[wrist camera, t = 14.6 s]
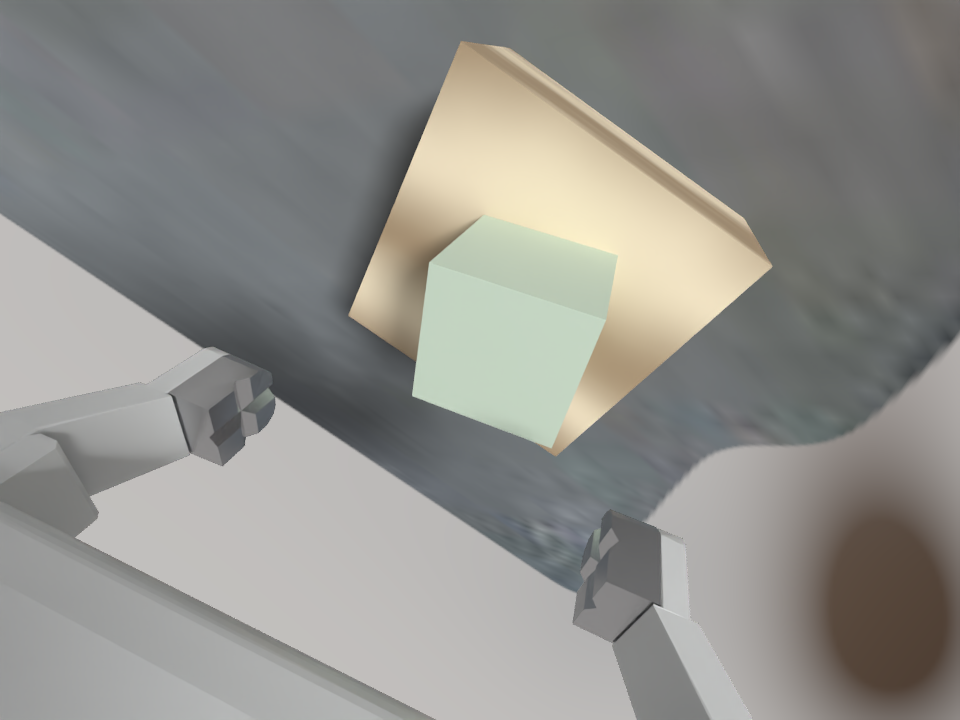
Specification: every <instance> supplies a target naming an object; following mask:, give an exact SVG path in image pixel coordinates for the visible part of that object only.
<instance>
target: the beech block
mask: <svg viewBox="0 0 960 720" xmlns="http://www.w3.org/2000/svg"><path fill="white" fill-rule="evenodd" d="M483 215H487V216H490V217H493V218H497V219H500V220H503V221H507V222H510V223H513V224H517V225H520V226H523V227H526V228H530V229H533V230H536V231H540V232H543V233H546V234H550V235H553V236H556V237H559V238H563V239H566V240H569V241H573V242H576V243H579V244H582V245H586V246H589V247H592V248H596V249H599V250H602V251H605V252H609V253H612V254H615V255H618V258H617V263H616V269H615V274H614V280H613V285H612V291H611V296H610V301H609V307H608V312H607V318H606V321H605V324H604V326H603V329H602V331H601V333H600V336H599V338H598V340H597V343H596V345H595V347H594V350H593V352H592V354H591V357H590V359H589V362H588V364H587V366H586V369H585V371H584V373H583V376H582V378H581V380H580V383H579V385H578V387H577V390H576V392H575V395H574V397H573V399H572V402H571V404H570V406H569V409H568V411H567V413H566V416H565V418H564V420H563V423H562V425H561V427H560V430H559V432H558V435H557V437H556V439H555V442H554V444H553V446H552V449H551V448H549V447H546V446H543V445H541V444H538V443H536V442H535V443H536V444H538V445H539V446H541V447H542V448H544V449H545V450H547V451H548V452H550V453H551V454H553V455H554V456H557V455H558V454H559V453H560V452H561V451H562V450H563V449H565V448H566V447H567V446H568V445H569V444H570V443H571V442H573V441H574V440H575V439H576V438H577V437H578V436H579V435H581V434H582V433H583V432H584V431H585V430H586V429H587V428H589V427H590V426H591V425H592V424H593V423H594V422H595V421H597V420H598V419H599V418H600V417H601V416H602V415H603V414H605V413H606V412H607V411H608V410H609V409H610V408H611V407H613V406H614V405H615V404H616V403H617V402H618V401H619V400H621V399H622V398H623V397H624V396H625V395H626V394H627V393H629V392H630V391H631V390H632V389H633V388H634V387H635V386H637V385H638V384H639V383H640V382H641V381H642V380H643V379H645V378H646V377H647V376H648V375H649V374H650V373H651V372H653V371H654V370H655V369H656V368H657V367H658V366H659V365H661V364H662V363H663V362H664V361H665V360H666V359H667V358H669V357H670V356H671V355H672V354H673V353H674V352H675V351H677V350H678V349H679V348H680V347H681V346H682V345H683V344H685V343H686V342H687V341H688V340H689V339H690V338H691V337H693V336H694V335H695V334H696V333H697V332H698V331H699V330H701V329H702V328H703V327H704V326H705V325H706V324H707V323H709V322H710V321H711V320H712V319H713V318H714V317H715V316H717V315H718V314H719V313H720V312H721V311H722V310H723V309H725V308H726V307H727V306H728V305H729V304H730V303H731V302H733V301H734V300H735V299H736V298H737V297H738V296H739V295H741V294H742V293H743V292H744V291H745V290H746V289H747V288H749V287H750V286H751V285H752V284H753V283H754V282H755V281H757V280H758V279H759V278H760V277H761V276H762V275H763V274H765V273H766V272H767V271H768V270H769V269H770V268H771V267H773V266H772V265H771V263H770V261H769V260H768V258H767V256H766V255H765V253H764V251H763V250H762V248H761V246H760V245H759V243H758V241H757V239H756V238H755V236H754V234H753V233H752V231H751V229H750V228H749V226H748V224H747V223H746V221H745V219H744V218H743V217H741V216H740V215H739V214H737V213H736V212H734V211H733V210H732V209H730V208H729V207H728V206H726V205H725V204H723V203H722V202H721V201H719V200H718V199H717V198H715V197H714V196H712V195H711V194H710V193H708V192H707V191H706V190H704V189H703V188H701V187H700V186H699V185H697V184H696V183H695V182H693V181H692V180H690V179H689V178H688V177H686V176H685V175H684V174H682V173H681V172H679V171H678V170H677V169H675V168H674V167H673V166H671V165H670V164H668V163H667V162H666V161H664V160H663V159H662V158H660V157H659V156H657V155H656V154H655V153H653V152H652V151H651V150H649V149H648V148H646V147H645V146H644V145H642V144H641V143H639V142H638V141H637V140H635V139H634V138H633V137H631V136H630V135H628V134H627V133H626V132H624V131H623V130H622V129H620V128H619V127H617V126H616V125H615V124H613V123H612V122H611V121H609V120H608V119H606V118H605V117H604V116H602V115H601V114H600V113H598V112H597V111H595V110H594V109H593V108H591V107H590V106H589V105H587V104H586V103H584V102H583V101H582V100H580V99H579V98H578V97H576V96H575V95H573V94H572V93H571V92H569V91H568V90H567V89H565V88H564V87H562V86H561V85H560V84H558V83H557V82H556V81H554V80H553V79H551V78H550V77H549V76H547V75H546V74H545V73H543V72H542V71H540V70H539V69H538V68H536V67H535V66H534V65H532V64H531V63H529V62H528V61H527V60H525V59H524V58H523V57H521V56H520V55H518V54H517V53H516V52H514V51H513V50H512V49H510V48H505V47H498V46H491V45H484V44H477V43H470V42H464V41H461V42H460V45H459V47H458V50H457V52H456V55H455V57H454V59H453V62H452V64H451V67H450V69H449V72H448V74H447V76H446V79H445V81H444V84H443V86H442V89H441V91H440V94H439V96H438V98H437V101H436V103H435V106H434V108H433V111H432V113H431V115H430V118H429V120H428V123H427V125H426V128H425V130H424V132H423V135H422V137H421V140H420V142H419V145H418V147H417V149H416V152H415V154H414V157H413V159H412V162H411V164H410V167H409V169H408V171H407V174H406V176H405V179H404V181H403V184H402V186H401V188H400V191H399V193H398V196H397V198H396V201H395V203H394V205H393V208H392V210H391V213H390V215H389V218H388V220H387V222H386V225H385V227H384V230H383V232H382V235H381V237H380V240H379V242H378V244H377V247H376V249H375V252H374V254H373V257H372V259H371V261H370V264H369V266H368V269H367V271H366V274H365V276H364V278H363V281H362V283H361V286H360V288H359V291H358V293H357V295H356V298H355V300H354V303H353V305H352V308H351V310H350V313H349V315H348V316H350V317H351V318H353V319H354V320H356V321H357V322H359V323H360V324H361V325H363V326H364V327H366V328H367V329H369V330H370V331H372V332H373V333H375V334H376V335H378V336H379V337H381V338H382V339H384V340H385V341H386V342H388V343H389V344H391V345H392V346H394V347H395V348H397V349H398V350H400V351H401V352H403V353H404V354H406V355H407V356H409V357H410V358H411V359H413V360H414V361H417V354H418V346H419V338H420V330H421V323H422V315H423V307H424V299H425V291H426V284H427V276H428V268H429V262H430V261H431V260H432V259H434V258H435V257H436V256H437V255H438V254H439V253H441V252H442V251H443V250H444V249H445V248H446V247H447V246H449V245H450V244H451V243H452V242H453V241H454V240H456V239H457V238H458V237H459V236H460V235H461V234H462V233H464V232H465V231H466V230H467V229H468V228H469V227H471V226H472V225H473V224H474V223H475V222H476V221H478V220H479V219H480V218H481V217H482V216H483Z"/></svg>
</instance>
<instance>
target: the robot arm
mask: <svg viewBox="0 0 960 720" xmlns="http://www.w3.org/2000/svg"><path fill="white" fill-rule="evenodd" d="M272 384H273V379H272V374H271V372H269V371H267V370H265V369H263V368H261V367H259V366H256V365H254V364H252V363H249V362H247V361H245V360H243V359H240V358H238V357H236V356H234V355H231V354H229V353H226V352H224V351H222V350H219V349H217V348H215V347H209V348H204V349H202V350H201V351H199V352H198V353H196V354H194V355H193V356H191V357H190V358H188V359H186V360H185V361H183V362H182V363H180V364H179V365H177V366H175V367H174V368H172V369H171V370H169V371H167V372H166V373H164V374H163V375H161V376H159V377H158V378H156V379H155V380H153V381H152V382H150V383H148V384H143V383H135V384H131V385H126V386H121V387H116V388H112V389H108V390H102V391H98V392H93V393H88V394H84V395H79V396H74V397H70V398H66V399H60V400H56V401H51V402H46V403H42V404H37V405H32V406H27V407H23V408H19V409H14V410H9V411H4V412H0V720H435V719H434V718H431V717H430V716H427V715H426V714H423V713H421V712H420V711H418V710H415V709H414V708H412V707H410V706H408V705H406V704H404V703H402V702H400V701H398V700H396V699H394V698H392V697H390V696H388V695H386V694H384V693H382V692H380V691H378V690H376V689H374V688H372V687H370V686H368V685H366V684H364V683H362V682H360V681H358V680H356V679H354V678H352V677H350V676H348V675H346V674H344V673H342V672H340V671H338V670H336V669H334V668H332V667H330V666H328V665H326V664H324V663H322V662H320V661H318V660H316V659H314V658H312V657H310V656H308V655H306V654H304V653H303V652H300V651H299V650H297V649H295V648H292V647H291V646H289V645H287V644H285V643H282V642H280V641H279V640H277V639H274V638H273V637H271V636H269V635H266V634H265V633H262V632H261V631H259V630H256V629H255V628H253V627H251V626H249V625H247V624H245V623H243V622H241V621H239V620H237V619H235V618H233V617H231V616H229V615H227V614H225V613H223V612H221V611H219V610H217V609H215V608H213V607H211V606H209V605H207V604H205V603H203V602H201V601H199V600H197V599H195V598H193V597H191V596H189V595H187V594H185V593H183V592H181V591H179V590H177V589H175V588H173V587H171V586H169V585H168V584H166V583H164V582H162V581H160V580H157V579H156V578H153V577H152V576H150V575H148V574H146V573H144V572H142V571H140V570H138V569H136V568H134V567H132V566H130V565H128V564H126V563H124V562H122V561H120V560H118V559H116V558H114V557H112V556H110V555H108V554H106V553H104V552H102V551H100V550H98V549H96V548H94V547H92V546H90V545H88V544H86V543H84V542H82V541H80V540H78V539H76V538H75V537H76V536H77V535H78V534H80V533H81V532H82V531H83V530H84V529H85V528H87V527H88V526H89V525H90V524H92V523H93V522H94V521H95V520H96V519H97V518H98V513H99V512H98V510H97V509H96V507H95V505H94V503H93V502H92V500H91V498H90V496H92V495H94V494H97V493H99V492H101V491H104V490H106V489H109V488H111V487H114V486H116V485H118V484H121V483H123V482H126V481H128V480H130V479H133V478H135V477H138V476H140V475H143V474H145V473H148V472H150V471H152V470H155V469H157V468H160V467H162V466H164V465H167V464H169V463H172V462H174V461H177V460H179V459H182V458H184V457H186V456H189V455H190V453H192V454H194V455H197V456H199V457H201V458H204V459H206V460H208V461H211V462H213V463H216V464H218V465H221V466H223V465H224V464H225V463H227V462H228V461H229V460H230V459H231V458H232V457H233V456H234V455H235V454H236V453H237V452H238V451H240V450H241V449H242V448H243V447H244V445H245V439H246V437H247V436H251V435H254V434H257V433H259V432H260V431H261V430H262V429H263V428H264V427H265V426H266V425H267V424H268V422H269V420H270V419H271V417H272V415H273V414H274V409H275V397H274V395H273V394H272V392H271V391H270V389H269V387H270V386H271V385H272ZM580 573H581V575H582V577H583V580H584V583H583V584H582V586H581V587H580V589H579V590H578V591H577V596H576V603H575V611H574V617H573V624H574V625H576V626H578V627H580V628H582V629H584V630H587V631H589V632H591V633H593V634H595V635H597V636H599V637H601V638H603V639H605V640H607V641H609V642H611V643H613V645H612V647H613V650H614V653H615V656H616V659H617V662H618V665H619V668H620V671H621V674H622V677H623V680H624V682H625V685H626V688H627V692H628V695H629V697H630V701H631V704H632V707H633V709H634V712H635V715H636V718H637V720H753V718H752V717H751V715H750V713H749V711H748V710H747V708H746V706H745V705H744V703H743V701H742V699H741V697H740V696H739V694H738V692H737V691H736V689H735V687H734V685H733V683H732V681H731V680H730V678H729V676H728V674H727V673H726V671H725V669H724V667H723V666H722V664H721V662H720V660H719V659H718V657H717V655H716V653H715V652H714V650H713V648H712V646H711V645H710V643H709V641H708V639H707V637H706V636H705V634H704V632H703V630H702V629H701V627H700V625H699V624H698V623H696V622H694V621H692V620H691V616H690V602H689V587H688V572H687V557H686V544H685V542H684V540H683V538H680V537H678V536H675V535H672V534H670V533H668V532H665V531H663V530H661V529H657V528H656V527H654V526H651V525H649V524H647V523H644V522H641V521H639V520H636V519H634V518H631V517H629V516H626V515H624V514H621V513H619V512H616V511H613V510H611V509H610V510H609V511H607V512H606V514H605V515H604V516H603V518H602V523H601V528H600V529H597V530H594V532H593V533H592V535H591V537H590V538H589V540H588V543H587V545H586V548H585V550H584V554H583V558H582V563H581V570H580Z"/></svg>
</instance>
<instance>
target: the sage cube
mask: <svg viewBox="0 0 960 720" xmlns="http://www.w3.org/2000/svg"><path fill="white" fill-rule="evenodd" d="M617 258H618V255H615V254H612V253H609V252H605V251H602V250H599V249H596V248H592V247H589V246H586V245H582V244H579V243H576V242H573V241H569V240H566V239H563V238H559V237H556V236H553V235H550V234H546V233H543V232H540V231H536V230H533V229H530V228H526V227H523V226H520V225H517V224H513V223H510V222H507V221H503V220H500V219H497V218H493V217H490V216H487V215H483V216H482V217H481V218H480V219H479V220H478V221H476V222H475V223H474V224H473V225H472V226H471V227H469V228H468V229H467V230H466V231H465V232H464V233H462V234H461V235H460V236H459V237H458V238H457V239H456V240H454V241H453V242H452V243H451V244H450V245H449V246H447V247H446V248H445V249H444V250H443V251H442V252H441V253H439V254H438V255H437V256H436V257H435V258H434V259H432V260H431V261H430V262H429V268H428V276H427V284H426V291H425V299H424V307H423V315H422V323H421V330H420V338H419V346H418V354H417V361H416V369H415V377H414V385H413V393H412V396H413V397H416V398H419V399H421V400H424V401H427V402H429V403H432V404H435V405H437V406H440V407H443V408H445V409H448V410H451V411H453V412H456V413H459V414H461V415H464V416H467V417H469V418H472V419H475V420H477V421H480V422H482V423H485V424H488V425H490V426H493V427H496V428H498V429H501V430H504V431H506V432H509V433H512V434H514V435H517V436H520V437H522V438H525V439H528V440H530V441H533V442H536V443H538V444H541V445H543V446H546V447H549V448H551V449H552V446H553V444H554V442H555V439H556V437H557V435H558V432H559V430H560V427H561V425H562V423H563V420H564V418H565V416H566V413H567V411H568V409H569V406H570V404H571V402H572V399H573V397H574V395H575V392H576V390H577V387H578V385H579V383H580V380H581V378H582V376H583V373H584V371H585V369H586V366H587V364H588V362H589V359H590V357H591V354H592V352H593V350H594V347H595V345H596V343H597V340H598V338H599V336H600V333H601V331H602V329H603V326H604V324H605V321H606V318H607V312H608V307H609V301H610V296H611V291H612V285H613V280H614V274H615V269H616V263H617Z"/></svg>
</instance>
